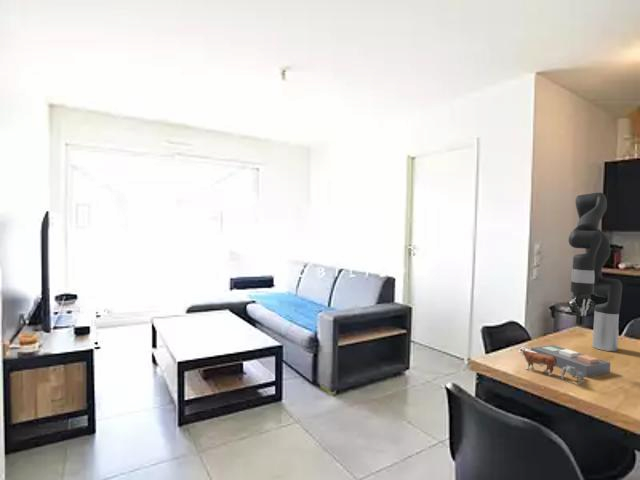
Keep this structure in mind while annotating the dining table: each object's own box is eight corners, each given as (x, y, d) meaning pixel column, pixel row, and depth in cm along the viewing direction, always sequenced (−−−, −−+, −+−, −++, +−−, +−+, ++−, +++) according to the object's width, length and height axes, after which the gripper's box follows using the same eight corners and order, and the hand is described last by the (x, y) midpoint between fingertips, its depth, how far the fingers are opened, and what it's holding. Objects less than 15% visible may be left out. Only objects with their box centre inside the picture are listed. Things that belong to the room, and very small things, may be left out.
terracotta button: (585, 362, 149) (585, 354, 149) (598, 366, 145) (598, 358, 145) (577, 363, 147) (577, 356, 147) (589, 367, 143) (590, 360, 143)
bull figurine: (518, 364, 151) (519, 344, 151) (557, 374, 141) (558, 353, 141) (514, 367, 148) (515, 346, 148) (554, 377, 138) (555, 355, 138)
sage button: (549, 353, 163) (549, 346, 163) (560, 357, 159) (560, 350, 158) (541, 354, 161) (542, 347, 161) (552, 358, 157) (552, 351, 157)
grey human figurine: (566, 382, 141) (556, 377, 133) (568, 367, 142) (559, 362, 135) (586, 387, 136) (577, 383, 129) (588, 373, 137) (579, 368, 130)
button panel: (553, 353, 166) (553, 344, 166) (609, 372, 145) (610, 362, 145) (530, 356, 161) (531, 347, 161) (585, 377, 140) (586, 366, 140)
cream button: (566, 356, 156) (567, 349, 156) (578, 360, 152) (578, 352, 152) (558, 357, 154) (559, 350, 154) (570, 361, 150) (570, 353, 150)
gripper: (584, 279, 154) (582, 321, 154) (561, 279, 149) (559, 323, 150) (603, 282, 147) (601, 326, 147) (580, 282, 142) (577, 328, 143)
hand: (580, 324), depth 148 cm, fingers closed
